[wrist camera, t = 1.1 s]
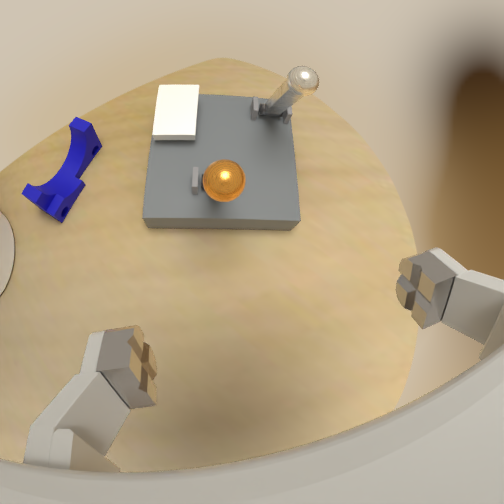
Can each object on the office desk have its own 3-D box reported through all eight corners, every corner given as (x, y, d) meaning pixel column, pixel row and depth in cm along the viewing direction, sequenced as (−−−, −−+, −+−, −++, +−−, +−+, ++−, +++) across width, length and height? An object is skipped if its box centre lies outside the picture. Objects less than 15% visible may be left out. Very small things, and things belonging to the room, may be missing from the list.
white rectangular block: (154, 140, 33) (152, 134, 31) (160, 91, 33) (159, 84, 31) (195, 140, 34) (195, 134, 32) (198, 91, 34) (199, 85, 32)
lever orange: (200, 194, 34) (202, 202, 19) (202, 168, 33) (203, 156, 18) (227, 194, 34) (247, 204, 20) (228, 168, 33) (250, 158, 19)
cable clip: (62, 223, 34) (43, 208, 28) (41, 209, 33) (21, 193, 28) (110, 150, 37) (99, 126, 31) (88, 140, 37) (75, 116, 31)
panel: (147, 227, 35) (139, 211, 30) (161, 111, 39) (158, 83, 33) (290, 230, 39) (306, 214, 33) (281, 117, 42) (292, 91, 36)
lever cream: (257, 120, 37) (291, 88, 23) (258, 100, 36) (292, 58, 22) (279, 123, 38) (324, 93, 23) (280, 102, 37) (324, 64, 23)
